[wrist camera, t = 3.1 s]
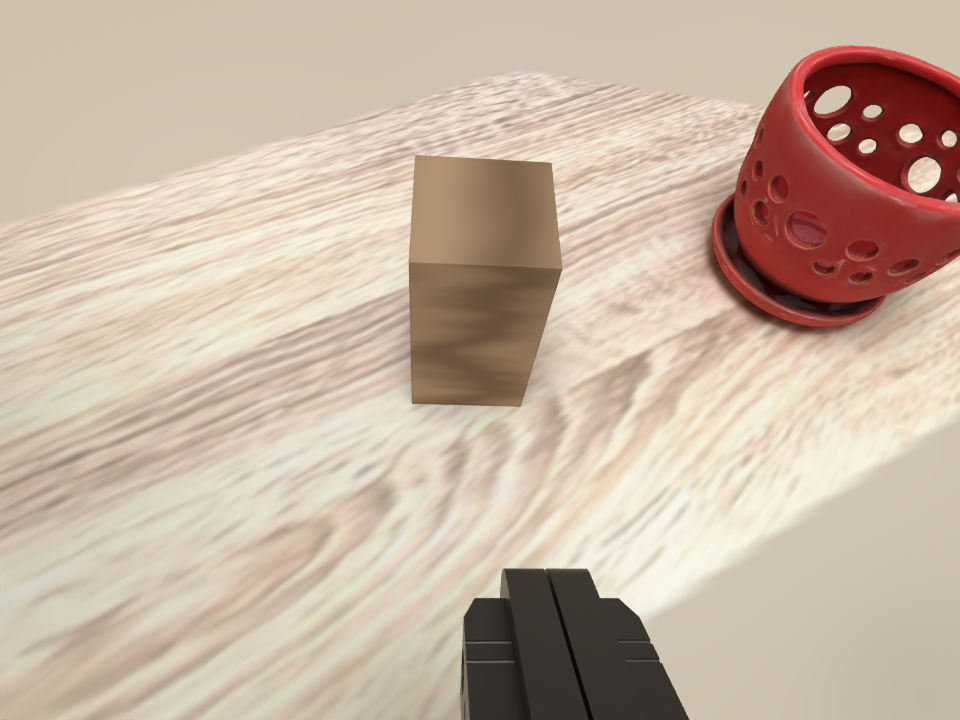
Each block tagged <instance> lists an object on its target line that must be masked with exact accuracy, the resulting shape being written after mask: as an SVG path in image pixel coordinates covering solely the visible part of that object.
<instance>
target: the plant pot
mask: <svg viewBox="0 0 960 720" xmlns="http://www.w3.org/2000/svg"><path fill="white" fill-rule="evenodd" d="M836 86H847V87H849V88H850V89H851V97H850V99H849V100H848V102H847V103H846V104H845V105H844V106H843V107H842V108H840V109H839V110H837V111H835V112H831V113H828V114H817V113H816V112H815V111H814V106H815V103H816V102H817V100H818V99H819V97H820V96H821V95H822V94H823V93H824V92H825V91H827V90H829V89H831V88H833V87H836ZM808 91H810V92H809V93H808V95H807V96H806V97H805V98H804V94H805V93H806V92H808ZM870 105H878V106H880V107H881V108H882V112H881V114H880V115H878V116H877V117H875V118H867V117H865V116H864V115H863V110H864V109H865V108H866V107H867V106H870ZM839 123H844V124H846V125H848V126H849V127H850V133H849V134H848V136H847V137H845V138H844V139H842V140H838V141H832V140H830V139H828V137H827V134H828V131H829V130H830V129H831V128H832V127H833V126H834V125H836V124H839ZM907 124H915V125H917V126H919V128H920V130H921V132H922V134H923V136H922V138H921V139H920V140H919V141H917V142H915V143H908V142H905V141H903V140H902V139H901V138H900V136H899V131H900V129H901V128H902V127H903V126H905V125H907ZM948 130H950V131H952V132H954V133H955V134H956V136H957V142H956V144H955V145H954V146H952V147H947V146H945V145H944V144H943V142H942V135H943V134H944V133H945V132H946V131H948ZM866 139H872V140H874V141H875V142H876V149H875V150H874V151H873V152H872V153H868V154H866V153H862V152H861V151H860V150H859V144H860V143H861V142H862V141H863V140H866ZM924 157H929V158H932V159H934V160H935V161H936V162H937V163H938V164H939V166H940V168H941V174H940V178H939V181H938V182H937V184H936V185H935V186H934V187H933V188H932V189H930V190H929V191H927V192H923V193H918V192H915V191H914V190H913V189H912V188H911V187H910V185H909V183H908V172H909V169H910V167H911V166H912V165H913V164H914V163H915V162H916V161H917V160H919V159H921V158H924ZM954 193H955V194H956V196H957V199H958V202H957V203H955V202H947V201H945V200H946V199H947V198H948V197H949V196H950V195H951V194H954ZM712 243H713V249H714V252H715V256H716V258H717V261H718V263H719V265H720V267H721V269H722V271H723V272H724V274H725V276H726V277H727V278H728V280H729V281H730V282H731V283H732V285H733V286H734V287H735V288H736V289H737V290H738V291H739V292H740V293H741V294H742V295H743V296H744V297H746V298H747V299H748V300H749V301H751V302H752V303H753V304H755V305H756V306H758V307H759V308H761V309H763V310H764V311H766V312H768V313H770V314H772V315H774V316H776V317H779V318H781V319H784V320H787V321H790V322H793V323H797V324H801V325H808V326H818V327H829V326H840V325H845V324H849V323H853V322H855V321H858V320H861V319H863V318H865V317H866V316H868V315H869V314H871V313H872V312H873V311H875V310H876V309H877V308H878V307H879V306H880V305H881V303H882V302H883V301H884V299H885V298H886V296H887V294H889V293H892V292H895V291H897V290H900V289H903V288H905V287H907V286H909V285H911V284H913V283H915V282H917V281H919V280H921V279H923V278H925V277H927V276H928V275H930V274H932V273H934V272H935V271H937V270H939V269H940V268H942V267H943V266H945V265H946V264H948V263H949V262H951V261H952V260H953V259H955V258H956V257H958V256H959V255H960V78H959V77H957V76H956V75H954V74H951V73H950V72H948V71H945V70H943V69H941V68H939V67H937V66H935V65H932V64H930V63H928V62H925V61H923V60H920V59H918V58H915V57H912V56H909V55H906V54H903V53H900V52H896V51H891V50H887V49H881V48H877V47H869V46H852V45H851V46H837V47H831V48H827V49H823V50H820V51H817V52H814V53H812V54H810V55H809V56H807V57H805V58H803V59H802V60H801V61H800V62H798V63H797V64H796V65H795V67H794V68H793V69H792V71H791V72H790V73H789V75H788V76H787V77H786V79H785V80H784V82H783V83H782V85H781V86H780V88H779V89H778V91H777V92H776V94H775V95H774V97H773V99H772V100H771V102H770V104H769V106H768V107H767V109H766V111H765V113H764V115H763V117H762V119H761V121H760V123H759V125H758V127H757V130H756V133H755V136H754V139H753V142H752V145H751V147H750V149H749V151H748V153H747V155H746V157H745V159H744V162H743V164H742V166H741V169H740V173H739V176H738V180H737V185H736V191H735V193H733V194H731V195H730V196H729V197H728V198H727V199H726V200H725V201H724V202H723V203H722V204H721V205H720V207H719V208H718V210H717V211H716V214H715V216H714V219H713V223H712Z"/></svg>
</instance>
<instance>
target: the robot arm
mask: <svg viewBox="0 0 960 720" xmlns="http://www.w3.org/2000/svg"><path fill="white" fill-rule="evenodd" d="M460 697H461V719H462V720H689V718H688V716H687V714H686V712H685V710H684V708H683V706H682V704H681V702H680V700H679V698H678V696H677V694H676V691H675V689H674V687H673V686H672V683H671V681H670V679H669V677H668V675H667V673H666V671H665V669H664V667H663V665H662V663H660V662H659V657H658V655H657V652H656V650H655V648H654V646H653V644H650V638H649V636H648V634H647V632H646V630H645V628H644V626H643V624H642V622H641V620H640V618H639V616H637V615H636V614H635V613H634V612H633V611H632V610H631V609H630V608H629V607H627V606H626V605H625V604H624V603H623V602H622V601H621V600H620V599H619V598H600V597H599V595H598V592H597V590H596V587H595V585H594V582H593V580H592V578H591V575H590V573H589V571H588V570H587V569H546V570H544V569H503V571H502V577H501V591H500V598H475V599H474V600H473V602H472V604H471V606H470V607H469V609H468V611H467V613H466V614H465V616H464V622H463V645H462V667H461V689H460Z"/></svg>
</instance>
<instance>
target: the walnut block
mask: <svg viewBox="0 0 960 720" xmlns="http://www.w3.org/2000/svg"><path fill="white" fill-rule="evenodd" d="M561 271H562V261H561V251H560V242H559V232H558V222H557V212H556V203H555V193H554V183H553V173H552V164H551V163H546V162H528V161H510V160H493V159H475V158H458V157H440V156H422V155H415V168H414V184H413V201H412V218H411V235H410V251H409V290H410V333H411V376H412V404H444V405H482V406H521V403H522V400H523V396H524V393H525V390H526V386H527V383H528V380H529V377H530V373H531V370H532V367H533V363H534V360H535V357H536V354H537V350H538V347H539V344H540V340H541V337H542V334H543V331H544V327H545V324H546V321H547V317H548V314H549V311H550V308H551V304H552V301H553V298H554V294H555V291H556V288H557V285H558V281H559V278H560V275H561Z"/></svg>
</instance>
